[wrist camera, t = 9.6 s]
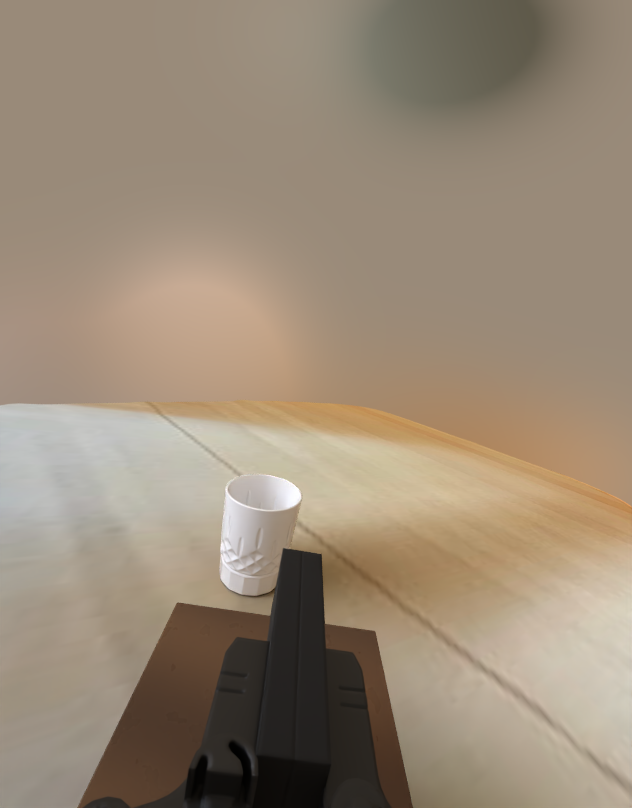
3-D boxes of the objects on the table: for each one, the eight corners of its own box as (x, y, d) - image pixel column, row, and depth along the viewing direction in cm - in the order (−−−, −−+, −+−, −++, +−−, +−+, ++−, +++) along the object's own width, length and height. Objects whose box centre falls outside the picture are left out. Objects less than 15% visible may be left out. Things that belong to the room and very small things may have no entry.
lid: (175, 612, 21) (177, 601, 21) (372, 640, 22) (375, 630, 22) (-81, 1155, 7) (-84, 1135, 7) (481, 1187, 8) (491, 1169, 8)
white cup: (297, 565, 41) (312, 487, 39) (267, 613, 33) (284, 520, 31) (238, 542, 43) (250, 467, 41) (197, 582, 35) (209, 493, 33)
